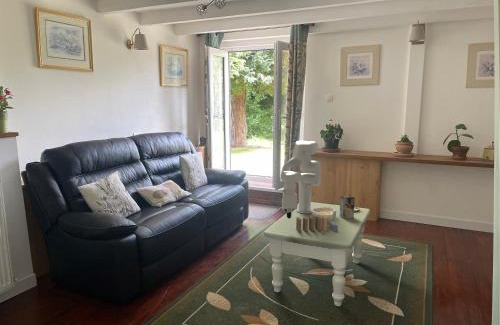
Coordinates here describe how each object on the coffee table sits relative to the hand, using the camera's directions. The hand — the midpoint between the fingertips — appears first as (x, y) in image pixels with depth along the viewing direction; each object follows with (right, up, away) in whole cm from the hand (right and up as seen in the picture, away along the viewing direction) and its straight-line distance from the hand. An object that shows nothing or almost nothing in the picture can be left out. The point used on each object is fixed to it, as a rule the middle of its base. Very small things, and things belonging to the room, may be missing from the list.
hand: (288, 217), depth 243 cm
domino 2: (+11, -9, +4) cm, 15 cm away
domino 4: (+20, -9, +5) cm, 23 cm away
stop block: (+32, -9, +7) cm, 34 cm away
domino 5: (+25, -9, +6) cm, 27 cm away
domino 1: (+7, -9, +3) cm, 12 cm away
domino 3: (+16, -9, +4) cm, 19 cm away
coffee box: (+48, -5, +33) cm, 58 cm away
